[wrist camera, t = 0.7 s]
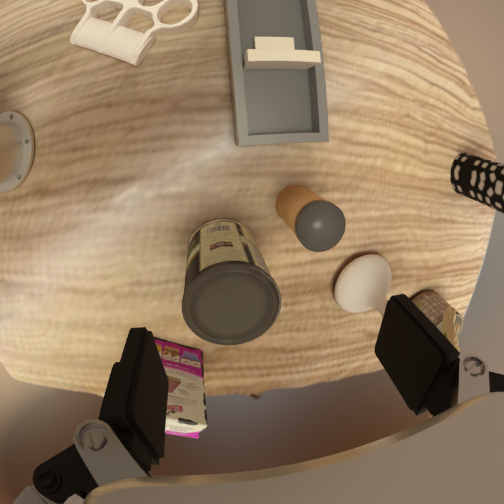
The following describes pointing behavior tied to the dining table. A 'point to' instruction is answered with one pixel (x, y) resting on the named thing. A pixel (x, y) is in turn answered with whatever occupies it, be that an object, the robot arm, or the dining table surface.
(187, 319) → the coffee can
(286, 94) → the grey rectangular tray
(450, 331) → the flower in vase
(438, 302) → the planter
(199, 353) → the candy bar box
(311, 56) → the plate
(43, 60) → the dining table surface
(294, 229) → the jar
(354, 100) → the dining table surface
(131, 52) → the knuckle duster
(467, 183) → the white-spotted black cylinder
